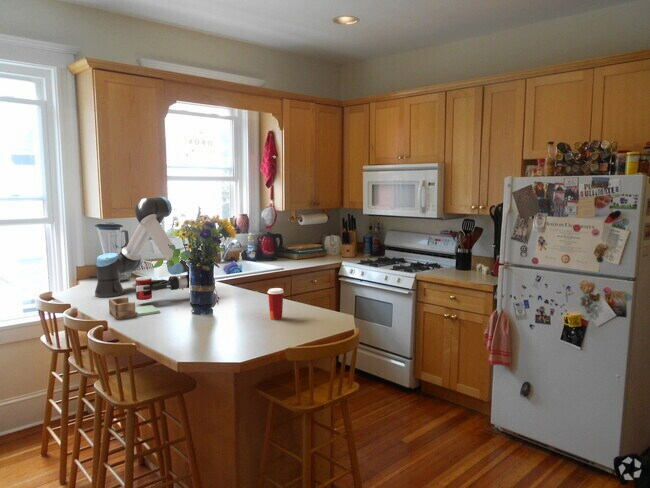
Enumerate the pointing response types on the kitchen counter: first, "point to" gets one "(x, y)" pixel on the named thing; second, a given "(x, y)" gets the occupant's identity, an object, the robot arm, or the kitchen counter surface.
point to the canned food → (143, 294)
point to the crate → (129, 309)
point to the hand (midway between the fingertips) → (134, 287)
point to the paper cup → (275, 303)
